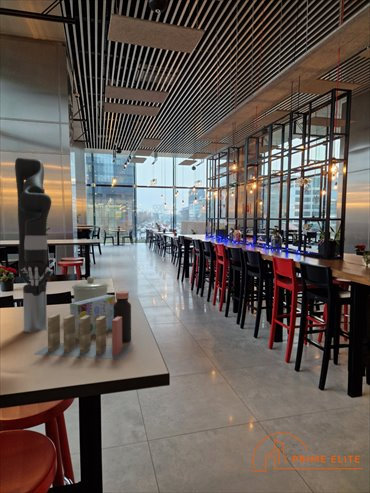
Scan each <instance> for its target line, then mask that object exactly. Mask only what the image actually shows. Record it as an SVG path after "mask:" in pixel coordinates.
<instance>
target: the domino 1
mask: <svg viewBox="0 0 370 493" xmlns="http://www.w3.org/2000/svg"><path fill="white" fill-rule="evenodd" d="M60 343H61V314H60V313H59V314H58V313H55V314H53V315H50V316H47V346H48V351H54V350H55V349H57V348H58V347H60Z"/></svg>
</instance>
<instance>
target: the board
mask: <svg viewBox="0 0 370 493" xmlns="http://www.w3.org/2000/svg"><path fill="white" fill-rule="evenodd" d="M133 348H134V346H128V345H122V350H121V351H120V352H119V353H118V355H113V354H112V344H111V345H108V344H106V350H104V351H103V352H102V353H101V354H96V344H92V343H91V348H90V349H89V350H88V351H86V352H85V353H80V343H75V348H73V349H72V350H71V351H69V352H64V342H60V347H58V348H57V349H55V350H54V351H48V345H46V346H45V347H43V348H42V349H40V350H39V351H37V352H35V353H34V355H39V356H55V357H57V356H58V357H74V358H75V357H76V358H88V359H89V358H90V359H92V358H93V359H105V360H107V359H109V360H124V358H125V357H126V356H127V355H128V354H129V352H130V351H131V350H132V349H133Z"/></svg>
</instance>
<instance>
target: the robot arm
mask: <svg viewBox="0 0 370 493" xmlns="http://www.w3.org/2000/svg"><path fill="white" fill-rule="evenodd" d="M14 163H15V164H14V171H15V173H14V174H15V181H16V182H15V184H16V191H17V193H16V194H17V221H18V222H17V226H18V241H19V242H18V244H19V245H18V259H17V260H18V263H17V266H18V274H19V275H20V276H21V278H22V279H23V280H24V282H25V283H26V284H25V285H23V289H22V295H23V296H22V297H23V299H22V300H23V332H25V333H33V332H35V331H45V330H48V316H47V313H48V312H47V311H48V310H47V286H48V285H47V284H48V281H49V280H50V278H51V277H52V275H54V273H55V270H53V269H50V267H49V264H48V239H47V221H48V218H49V217H48V216H49V214H50V209H51V206H52V198H51V197H50V196H49V194H47V193H45V190H44V189H45V188H44V180H45V169H44V168H45V167H44V164H43V161H41V160H40V159H36V158H35V159H34V158H27V157H17V158H16V159H15V162H14Z"/></svg>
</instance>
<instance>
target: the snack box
mask: <svg viewBox="0 0 370 493" xmlns="http://www.w3.org/2000/svg"><path fill="white" fill-rule="evenodd" d="M116 302H117V300H116V295H114V294H107V295H104V296H100V297H96V298H92V299H87V300H83V301H79V302H75V301H74V302H72V303H69V310H70V314H69V315H75V339H78V340H80V333H79V319H80V318H82V317H84V316H86V315H89V316H90V325H91V336H92V335H94V334H95V335H96V319H97V318H99V317H101V316H106V332H108V331H112V320H113V319H114V304H115V303H116Z"/></svg>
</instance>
